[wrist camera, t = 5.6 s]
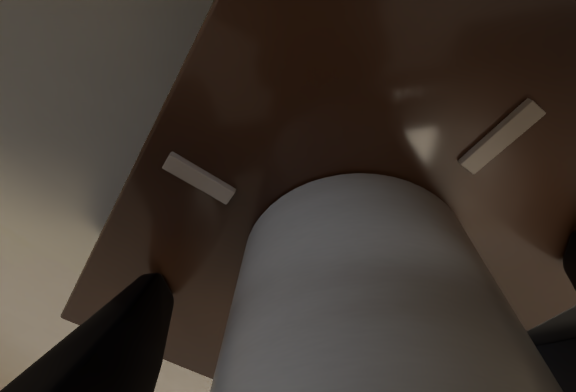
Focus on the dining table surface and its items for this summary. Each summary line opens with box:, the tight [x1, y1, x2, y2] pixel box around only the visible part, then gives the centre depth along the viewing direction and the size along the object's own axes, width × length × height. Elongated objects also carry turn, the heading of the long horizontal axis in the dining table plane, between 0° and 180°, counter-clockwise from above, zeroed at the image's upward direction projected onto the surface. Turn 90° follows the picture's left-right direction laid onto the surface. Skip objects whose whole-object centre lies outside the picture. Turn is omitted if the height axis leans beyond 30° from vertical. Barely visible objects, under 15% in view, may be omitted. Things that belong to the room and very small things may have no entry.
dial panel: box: [61, 0, 576, 379], centre depth 9 cm, size 13×10×3 cm
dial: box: [210, 173, 563, 392], centre depth 6 cm, size 5×5×4 cm
